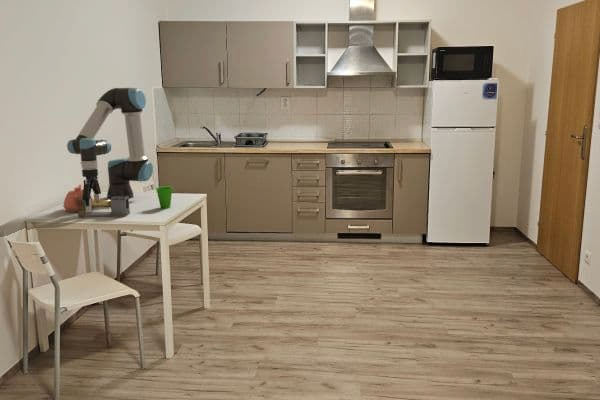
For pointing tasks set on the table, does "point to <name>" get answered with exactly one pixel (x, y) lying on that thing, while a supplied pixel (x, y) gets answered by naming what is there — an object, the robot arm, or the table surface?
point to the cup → (164, 196)
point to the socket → (81, 207)
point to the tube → (100, 203)
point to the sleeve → (120, 205)
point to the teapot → (73, 199)
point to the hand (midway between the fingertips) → (93, 209)
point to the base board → (102, 214)
